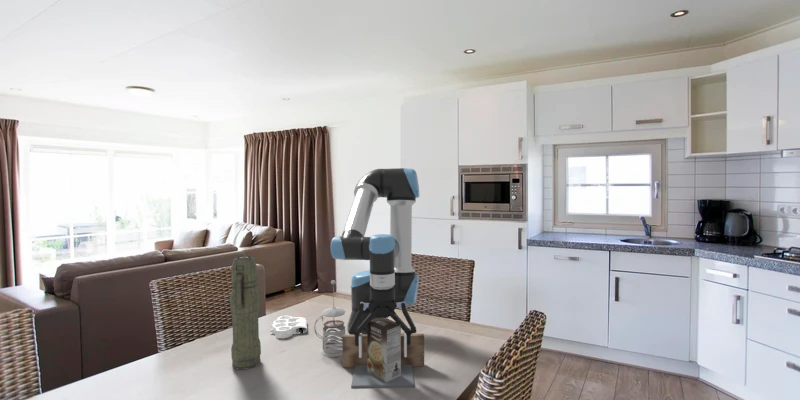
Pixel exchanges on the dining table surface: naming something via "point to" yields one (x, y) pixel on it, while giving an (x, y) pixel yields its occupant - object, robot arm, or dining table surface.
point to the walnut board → (352, 351)
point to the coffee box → (384, 349)
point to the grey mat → (368, 380)
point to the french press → (332, 346)
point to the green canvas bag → (245, 313)
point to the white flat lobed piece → (288, 326)
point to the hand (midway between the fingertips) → (383, 355)
